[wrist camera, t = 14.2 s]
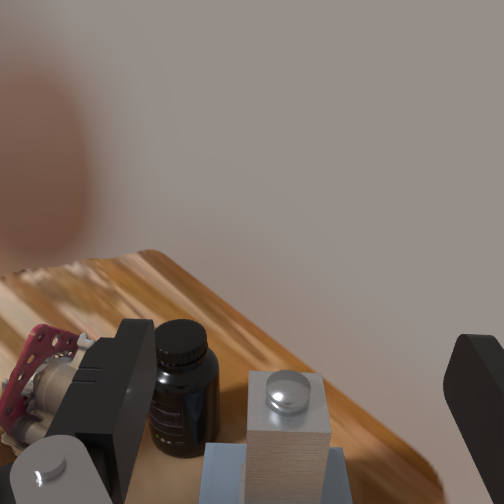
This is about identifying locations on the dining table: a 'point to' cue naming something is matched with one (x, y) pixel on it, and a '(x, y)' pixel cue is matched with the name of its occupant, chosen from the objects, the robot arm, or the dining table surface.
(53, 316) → the dining table surface
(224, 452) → the stand
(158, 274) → the dining table surface
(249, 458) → the block
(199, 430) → the supplement bottle
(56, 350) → the brake caliper
